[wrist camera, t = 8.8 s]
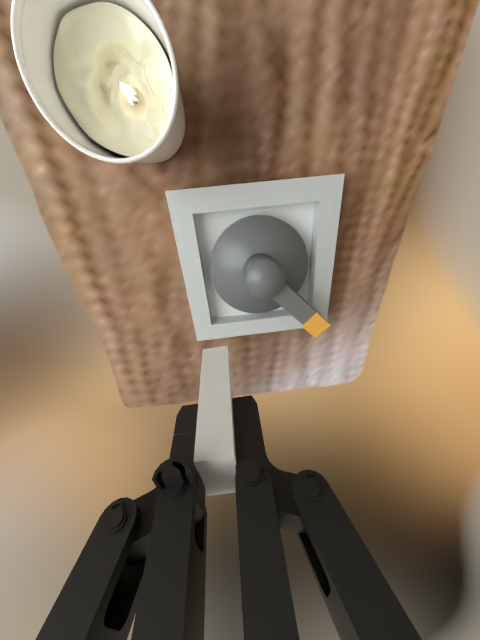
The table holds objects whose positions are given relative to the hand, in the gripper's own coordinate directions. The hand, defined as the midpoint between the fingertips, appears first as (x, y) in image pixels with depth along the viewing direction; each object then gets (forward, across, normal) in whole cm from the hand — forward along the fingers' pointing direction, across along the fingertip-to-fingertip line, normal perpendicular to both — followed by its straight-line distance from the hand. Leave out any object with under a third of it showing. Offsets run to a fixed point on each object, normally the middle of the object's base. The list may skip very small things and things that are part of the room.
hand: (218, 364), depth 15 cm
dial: (+20, +7, -3) cm, 21 cm away
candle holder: (+23, -5, +16) cm, 28 cm away
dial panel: (+22, +5, -1) cm, 23 cm away
